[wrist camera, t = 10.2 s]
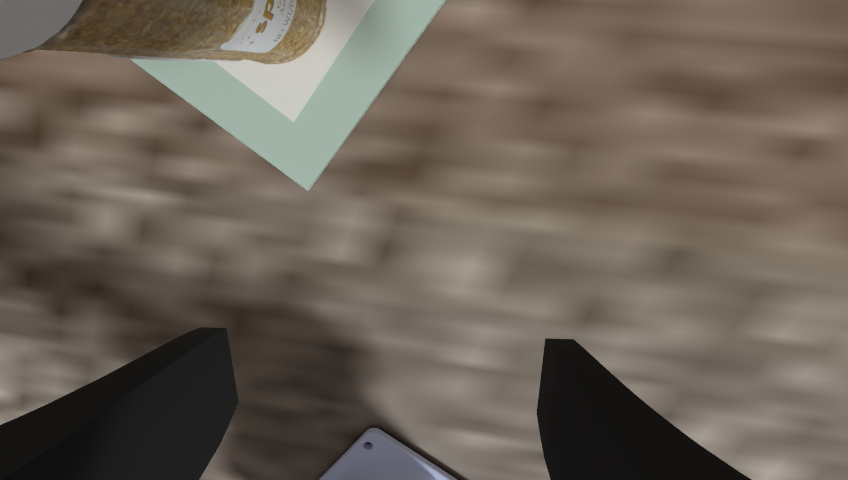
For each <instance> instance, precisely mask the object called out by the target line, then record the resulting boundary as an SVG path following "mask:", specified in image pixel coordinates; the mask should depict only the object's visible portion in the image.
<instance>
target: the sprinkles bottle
mask: <svg viewBox="0 0 848 480" xmlns="http://www.w3.org/2000/svg"><path fill="white" fill-rule="evenodd" d="M326 3H327V0H0V58H7V57H10V56H13V55H16V54H19V53H22V52H31V51H34V50H57V51H78V52H88V53H102V54H106V55H109V56H114V57H119V58H128V59H147V60H175V61H212V62H238V61H241V60H251V61H255V62H259V63H263V64H282V63H288V62H291V61H293V60H295V59H297V58H298V57H300V56H302V55H303V54H304V53H305V52H307V51H308V50H309V49H310V47H311V45H313V44H314V42H315V41H316V39H317V38H318V37H319V34H320V32H321V30H322V28H323V25H324V22H325V16H326V10H327V9H326Z"/></svg>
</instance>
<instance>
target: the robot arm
mask: <svg viewBox="0 0 848 480" xmlns="http://www.w3.org/2000/svg"><path fill="white" fill-rule="evenodd" d="M237 404H238V396H237V390H236V384H235V378H234V372H233V366H232V360H231V354H230V348H229V342H228V337H227V331H226V328H198V329H195V330H193V331H191V332H188V333H186V334H184V335H182V336H180V337H178V338H176V339H174V340H172V341H170V342H168V343H166V344H164V345H163V346H161V347H159V348H157V349H155V350H153V351H151V352H149V353H147V354H146V355H144V356H142V357H140V358H138V359H136V360H134V361H132V362H130V363H129V364H127V365H125V366H123V367H121V368H119V369H117V370H115V371H113V372H111V373H110V374H108V375H106V376H104V377H102V378H100V379H98V380H96V381H94V382H92V383H90V384H88V385H86V386H84V387H82V388H80V389H77V390H75V391H73V392H71V393H69V394H67V395H65V396H63V397H61V398H59V399H57V400H55V401H53V402H51V403H49V404H47V405H45V406H43V407H40V408H38V409H36V410H34V411H32V412H29V413H27V414H25V415H23V416H20V417H18V418H16V419H14V420H11V421H9V422H7V423H4V424H2V425H0V480H199V479H200V477H201V475H202V474H203V472H204V470H205V469H206V467H207V465H208V464H209V462H210V460H211V459H212V457H213V455H214V453H215V452H216V450H217V448H218V447H219V445H220V443H221V441H222V439H223V436H224V434H225V432H226V430H227V428H228V426H229V423H230V421H231V418H232V416H233V414H234V411H235V409H236V406H237ZM537 418H538V424H539V430H540V436H541V442H542V448H543V453H544V458H545V462H546V465H547V469H548V472H549V475H550V479H551V480H751V479H749V478H748V477H746V476H745V475H743V474H742V473H740V472H738V471H737V470H735V469H734V468H733V467H731V466H730V465H728V464H727V463H725V462H724V461H722V460H721V459H719V458H718V457H716V456H715V455H713V454H712V453H710V452H709V451H707V450H706V449H705V448H703V447H702V446H700V445H699V444H697V443H696V442H695V441H693V440H692V439H691V438H689V437H688V436H686V435H685V434H684V433H683V432H681V431H680V430H679V429H677V428H676V427H675V426H674V425H672V424H671V423H670V422H668V421H667V420H666V419H665V418H663V417H662V416H661V415H659V414H658V413H657V412H656V411H654V410H653V409H652V408H651V407H649V406H648V405H647V404H646V403H645V402H643V401H642V400H641V399H640V398H639V397H637V396H636V395H635V394H634V393H633V392H632V391H630V390H629V389H628V388H627V387H626V386H625V385H624V384H622V383H621V382H620V381H619V380H618V379H617V378H616V377H615V376H613V375H612V374H611V373H610V372H609V371H608V370H607V369H606V368H605V367H604V366H602V365H601V364H600V363H599V362H598V361H597V360H596V359H595V358H594V357H593V356H592V355H590V354H589V353H588V352H587V351H586V350H585V349H584V348H583V347H582V346H581V345H579V344H578V343H577V342H576V341H575V340H573V339H545V347H544V355H543V364H542V373H541V381H540V390H539V398H538V407H537ZM366 442H370V443H372V444H367V443H366ZM319 480H457V479H456V478H454V477H453V476H451V475H450V474H448V473H446V472H445V471H443V470H442V469H440V468H439V467H437V466H436V465H434V464H433V463H431V462H429V461H428V460H426V459H425V458H423V457H422V456H420V455H419V454H417V453H416V452H414V451H412V450H411V449H409V448H408V447H406V446H405V445H403V444H402V443H400V442H399V441H397V440H395V439H394V438H392V437H391V436H389V435H388V434H386V433H385V432H383V431H382V430H380V429H378V428H370V429H368V430H367V431H366V432H365V433H364V434H363V435H362V436H361V437H360V438H359V439H358V440H357V441H356V442H355V443H354V444H353V445H352V446H351V447H350V448H349V449H348V450H347V451H346V452H345V453H344V454H343V455H342V456H341V457H340V458H339V460H338V461H337V462H336V463H335V464H334V465H333V466H332V467H331V468H330V469H329V470H328V471H327V472H326V473H325V474H324V475H323V476H322V477H321V478H320V479H319Z"/></svg>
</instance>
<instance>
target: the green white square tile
mask: <svg viewBox="0 0 848 480" xmlns="http://www.w3.org/2000/svg"><path fill="white" fill-rule="evenodd" d="M445 1H446V0H327V3H326V9H327V10H326V16H325V22H324V25H323V28H322V30H321V32H320V34H319V37H318V38H317V39H316V41H315V42H314V44H313V45H311V47H310V49H309V50H308V51H307V52H305V53H304V54H303V55H302V56H300V57H298V58H297V59H295V60H293V61H291V62H288V63H282V64H263V63H259V62H255V61H251V60H241V61H238V62H212V61H175V60H147V59H131V60H132V61H133V62H135V63H136V64H137V65H139V66H140V67H141V68H143V69H144V70H145V71H147V72H148V73H149V74H151V75H152V76H153V77H155V78H156V79H158V80H159V81H160V82H162V83H163V84H164V85H166V86H167V87H168V88H170V89H171V90H172V91H174V92H175V93H176V94H178V95H179V96H181V97H182V98H183V99H185V100H186V101H187V102H189V103H190V104H191V105H193V106H194V107H195V108H197V109H198V110H199V111H201V112H202V113H203V114H205V115H206V116H208V117H209V118H210V119H212V120H213V121H214V122H216V123H217V124H218V125H220V126H221V127H222V128H224V129H225V130H226V131H228V132H229V133H230V134H232V135H233V136H235V137H236V138H237V139H239V140H240V141H241V142H243V143H244V144H245V145H247V146H248V147H249V148H251V149H252V150H253V151H255V152H256V153H257V154H259V155H260V156H262V157H263V158H264V159H266V160H267V161H268V162H270V163H271V164H272V165H274V166H275V167H276V168H278V169H279V170H280V171H282V172H283V173H285V174H286V175H287V176H289V177H290V178H291V179H293V180H294V181H295V182H297V183H298V184H299V185H301V186H302V187H303V188H305V189H306V190H307V191H308V190H309V189H310V188H312V186H313V185H314V184H315V182H316V181H317V179H318V178H319V177H320V175H321V174H322V172H323V171H324V170H325V168H326V167H327V165H328V164H329V163H330V161H331V160H332V158H333V157H334V156H335V154H336V153H337V152H338V150H339V149H340V147H341V146H342V145H343V143H344V142H345V140H346V139H347V138H348V136H349V135H350V133H351V132H352V131H353V129H354V128H355V126H356V125H357V124H358V122H359V121H360V120H361V118H362V117H363V115H364V114H365V113H366V111H367V110H368V108H369V107H370V106H371V104H372V103H373V101H374V100H375V99H376V97H377V96H378V94H379V93H380V92H381V90H382V89H383V88H384V86H385V85H386V83H387V82H388V81H389V79H390V78H391V76H392V75H393V74H394V72H395V71H396V69H397V68H398V67H399V65H400V64H401V62H402V61H403V60H404V58H405V57H406V56H407V54H408V53H409V51H410V50H411V49H412V47H413V46H414V44H415V43H416V42H417V40H418V39H419V37H420V36H421V35H422V33H423V32H424V31H425V29H426V28H427V26H428V25H429V24H430V22H431V21H432V19H433V18H434V17H435V15H436V14H437V12H438V11H439V10H440V8H441V7H442V5H443V4H444V3H445Z"/></svg>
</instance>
